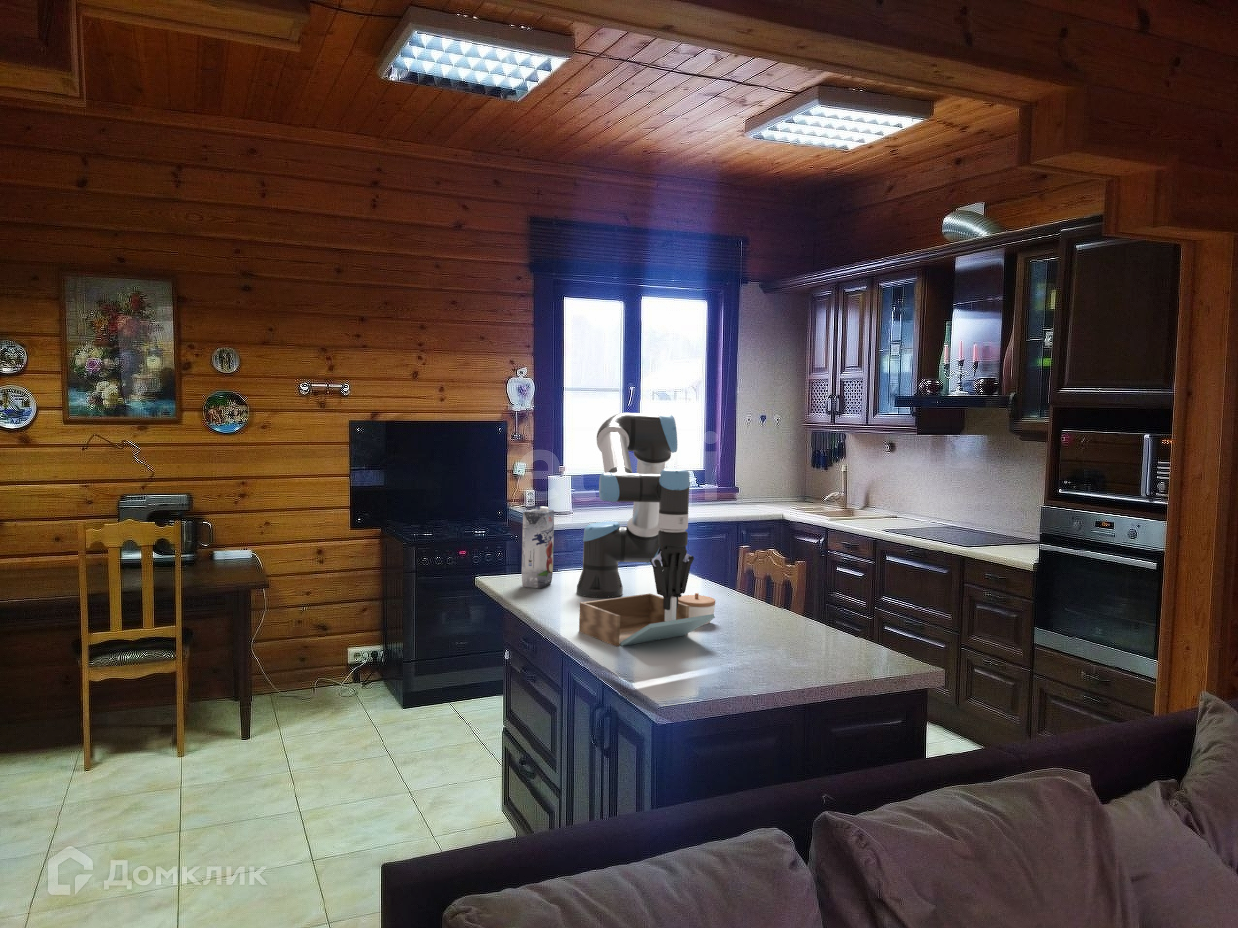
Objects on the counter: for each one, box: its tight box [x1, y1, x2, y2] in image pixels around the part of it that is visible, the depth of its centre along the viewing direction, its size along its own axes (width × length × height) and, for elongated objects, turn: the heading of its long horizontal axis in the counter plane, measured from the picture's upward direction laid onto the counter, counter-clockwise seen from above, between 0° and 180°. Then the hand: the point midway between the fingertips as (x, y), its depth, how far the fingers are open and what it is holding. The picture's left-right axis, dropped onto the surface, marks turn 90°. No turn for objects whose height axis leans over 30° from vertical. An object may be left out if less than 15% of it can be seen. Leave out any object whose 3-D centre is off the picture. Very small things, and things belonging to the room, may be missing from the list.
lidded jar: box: [678, 592, 716, 626], centre depth 256 cm, size 11×11×9 cm
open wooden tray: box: [578, 593, 689, 647], centre depth 242 cm, size 17×24×9 cm
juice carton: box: [521, 506, 555, 589], centre depth 303 cm, size 9×10×27 cm
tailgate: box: [619, 613, 716, 647], centre depth 231 cm, size 1×21×15 cm
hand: (670, 621), depth 229 cm, fingers closed
